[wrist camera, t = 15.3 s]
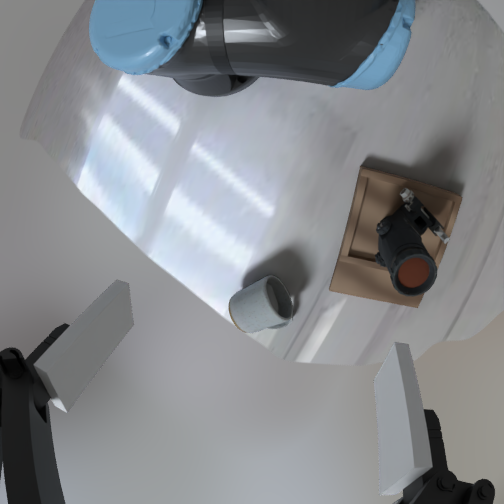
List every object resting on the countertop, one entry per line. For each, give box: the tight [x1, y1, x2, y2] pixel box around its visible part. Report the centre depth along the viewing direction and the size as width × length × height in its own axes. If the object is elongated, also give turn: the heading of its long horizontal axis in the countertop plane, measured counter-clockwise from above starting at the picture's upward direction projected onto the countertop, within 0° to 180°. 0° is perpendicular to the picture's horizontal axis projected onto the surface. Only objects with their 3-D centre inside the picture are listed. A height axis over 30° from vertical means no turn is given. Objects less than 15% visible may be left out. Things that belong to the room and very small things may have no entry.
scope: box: [375, 188, 450, 297], centre depth 35 cm, size 8×14×10 cm
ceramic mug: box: [229, 275, 293, 333], centre depth 49 cm, size 11×8×8 cm
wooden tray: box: [329, 166, 462, 308], centre depth 43 cm, size 20×16×2 cm
